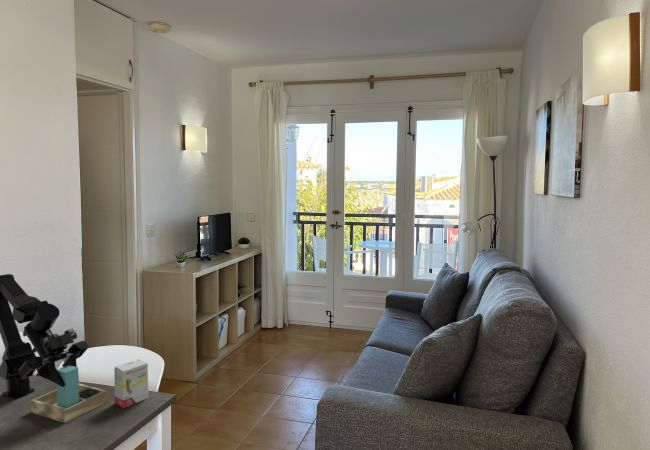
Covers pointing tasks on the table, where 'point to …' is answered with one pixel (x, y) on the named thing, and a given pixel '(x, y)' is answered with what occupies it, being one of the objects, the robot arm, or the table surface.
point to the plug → (68, 387)
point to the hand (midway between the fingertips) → (70, 383)
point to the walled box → (87, 402)
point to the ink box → (131, 383)
